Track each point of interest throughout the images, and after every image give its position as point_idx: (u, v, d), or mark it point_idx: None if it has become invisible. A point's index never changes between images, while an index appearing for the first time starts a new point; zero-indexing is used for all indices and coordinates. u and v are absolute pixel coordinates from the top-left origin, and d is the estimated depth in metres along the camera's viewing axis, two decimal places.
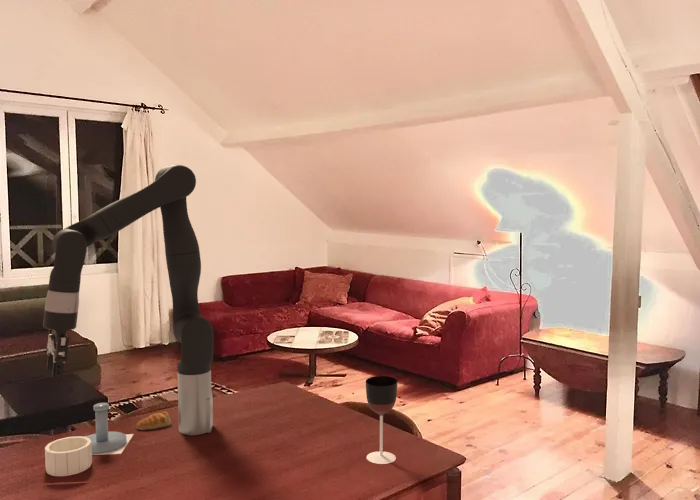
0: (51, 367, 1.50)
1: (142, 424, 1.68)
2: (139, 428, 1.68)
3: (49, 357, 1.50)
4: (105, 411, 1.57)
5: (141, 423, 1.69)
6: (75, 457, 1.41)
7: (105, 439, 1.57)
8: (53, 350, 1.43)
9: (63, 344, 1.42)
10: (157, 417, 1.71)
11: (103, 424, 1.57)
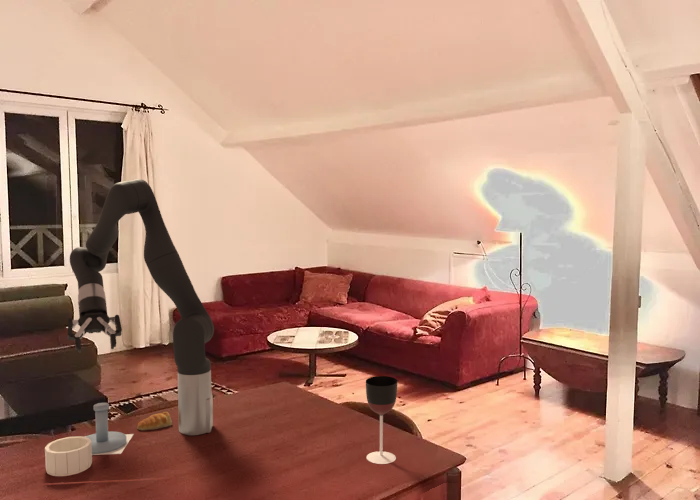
0: (111, 345, 1.69)
1: (143, 424, 1.68)
2: (141, 428, 1.68)
3: (110, 339, 1.70)
4: (105, 411, 1.57)
5: (142, 423, 1.68)
6: (75, 457, 1.41)
7: (105, 439, 1.57)
8: None
9: (68, 325, 1.68)
10: (158, 417, 1.71)
11: (103, 424, 1.57)
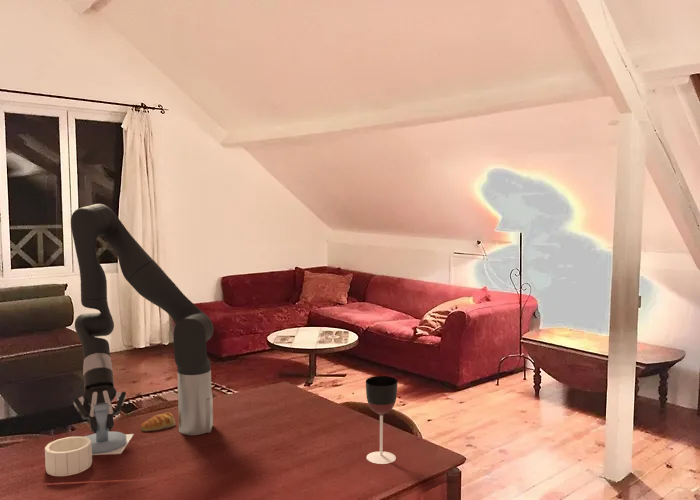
0: (108, 427, 1.57)
1: (147, 425, 1.68)
2: (145, 429, 1.67)
3: None
4: (105, 411, 1.57)
5: (146, 424, 1.68)
6: (75, 457, 1.41)
7: (105, 439, 1.57)
8: None
9: (76, 405, 1.58)
10: (162, 418, 1.70)
11: (103, 424, 1.57)
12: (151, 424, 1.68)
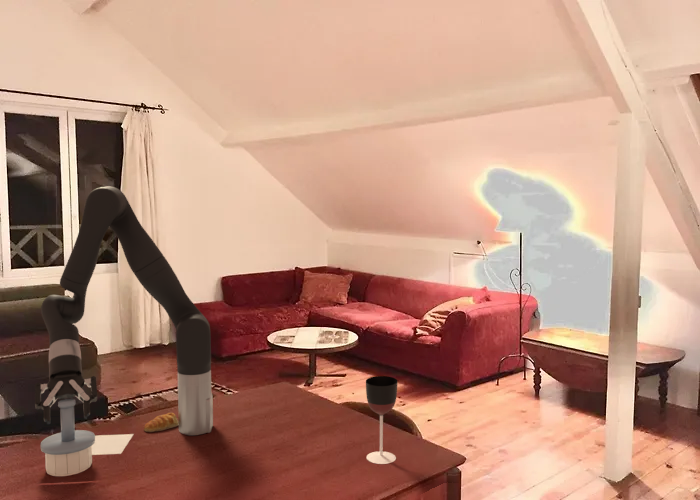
0: (84, 415, 1.45)
1: (151, 426, 1.67)
2: (149, 430, 1.67)
3: (83, 406, 1.47)
4: (71, 408, 1.43)
5: (150, 425, 1.67)
6: (75, 457, 1.41)
7: (71, 438, 1.44)
8: None
9: (35, 391, 1.45)
10: (165, 418, 1.70)
11: (69, 422, 1.43)
12: (155, 424, 1.67)
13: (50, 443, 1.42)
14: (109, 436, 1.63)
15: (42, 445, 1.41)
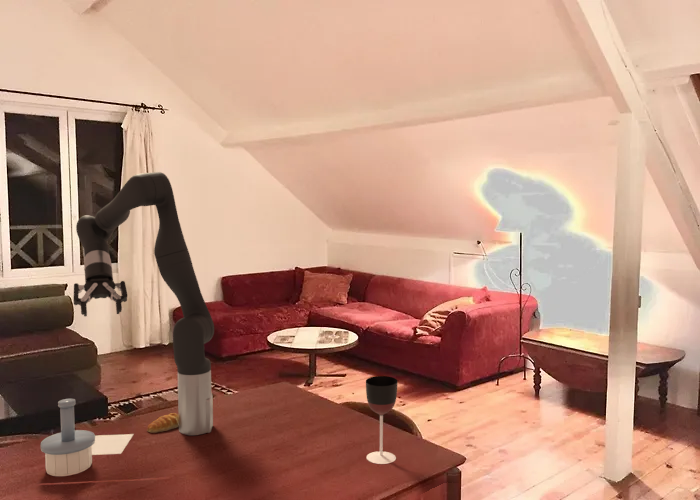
0: (116, 310, 1.69)
1: (155, 427, 1.67)
2: (152, 430, 1.66)
3: None
4: (71, 408, 1.43)
5: (154, 426, 1.67)
6: (75, 457, 1.41)
7: (71, 438, 1.44)
8: None
9: (74, 290, 1.69)
10: (168, 418, 1.70)
11: (69, 422, 1.43)
12: (159, 425, 1.67)
13: (50, 443, 1.42)
14: (109, 436, 1.63)
15: (42, 445, 1.41)
